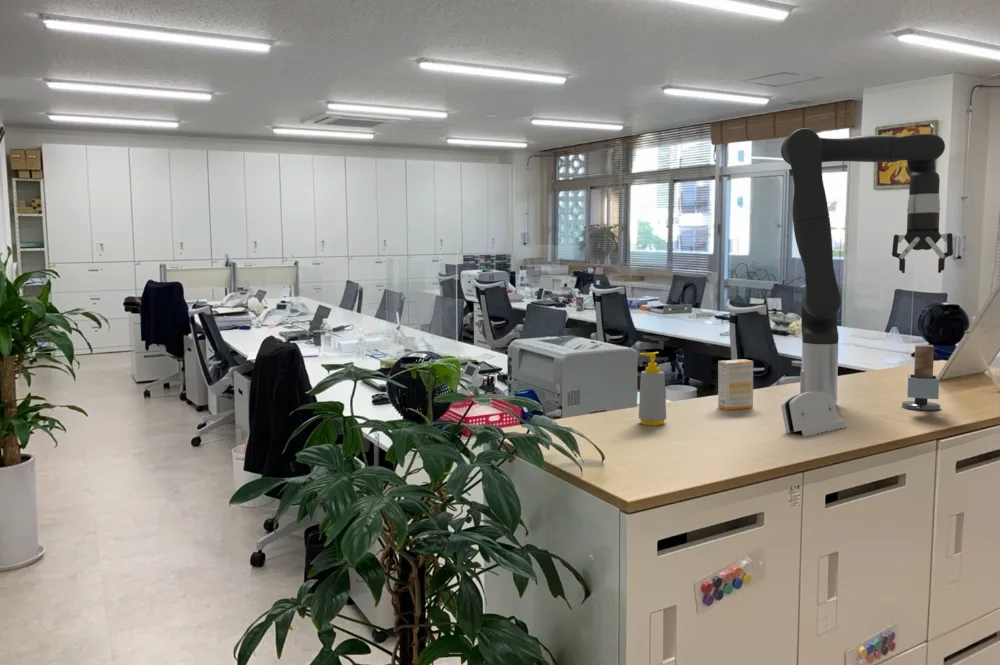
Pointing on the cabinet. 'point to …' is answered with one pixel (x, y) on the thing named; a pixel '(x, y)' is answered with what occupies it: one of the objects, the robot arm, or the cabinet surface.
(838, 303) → the robot arm
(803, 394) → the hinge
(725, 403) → the supplement box
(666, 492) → the cabinet surface
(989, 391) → the cabinet surface
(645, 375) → the soap bottle
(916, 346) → the rail post
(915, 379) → the cup bracket
